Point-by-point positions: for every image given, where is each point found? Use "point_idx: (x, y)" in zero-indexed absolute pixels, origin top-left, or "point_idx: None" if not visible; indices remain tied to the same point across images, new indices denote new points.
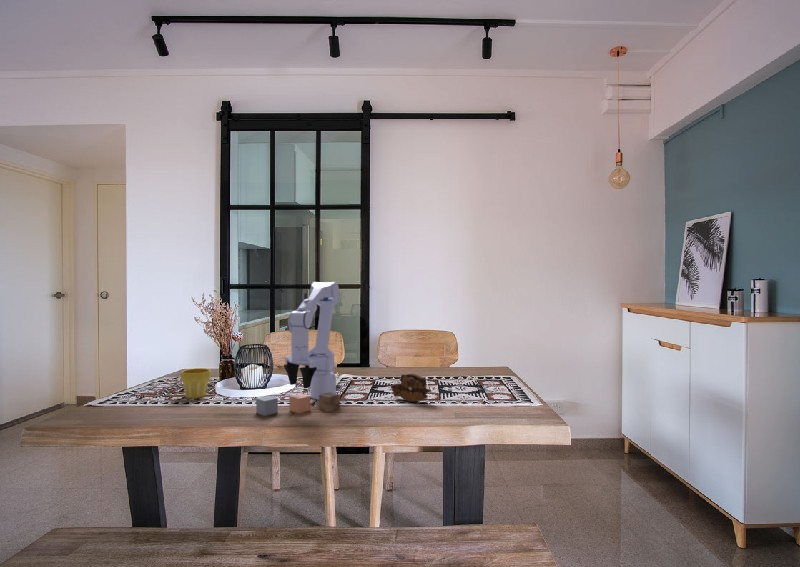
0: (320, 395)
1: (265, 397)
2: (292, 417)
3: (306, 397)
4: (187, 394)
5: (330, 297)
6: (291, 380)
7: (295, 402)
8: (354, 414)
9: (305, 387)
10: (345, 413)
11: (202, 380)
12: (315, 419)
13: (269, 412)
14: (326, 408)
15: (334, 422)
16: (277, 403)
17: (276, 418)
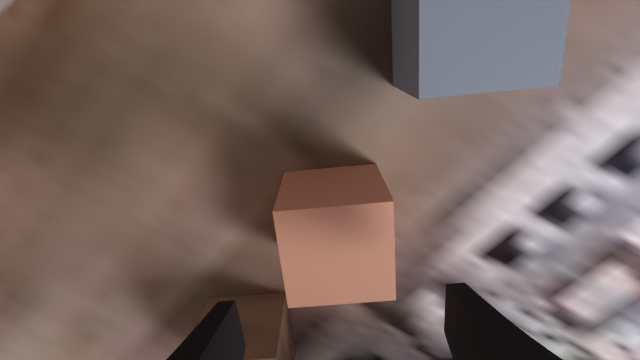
0: (262, 356)
1: (531, 18)
2: (232, 103)
3: (284, 275)
4: None
5: None
6: (464, 319)
7: (313, 194)
8: (92, 350)
9: (212, 311)
10: (130, 333)
11: None
12: (116, 182)
13: (394, 13)
14: None
15: (12, 225)
16: (406, 90)
17: (279, 9)
